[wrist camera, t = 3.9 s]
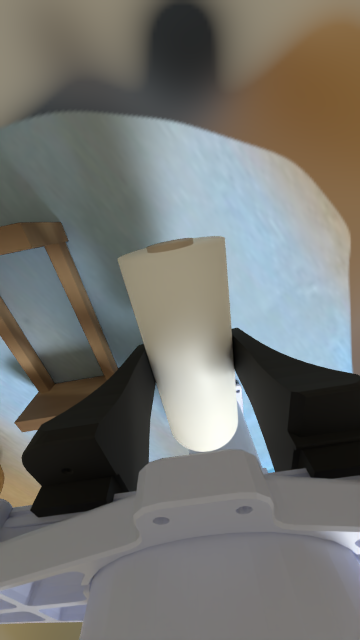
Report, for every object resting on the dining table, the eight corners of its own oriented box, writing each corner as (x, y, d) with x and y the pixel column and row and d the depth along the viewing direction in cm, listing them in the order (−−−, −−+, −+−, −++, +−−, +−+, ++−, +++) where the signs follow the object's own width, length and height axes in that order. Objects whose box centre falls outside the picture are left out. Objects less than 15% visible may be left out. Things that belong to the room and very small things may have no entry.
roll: (206, 382, 18) (253, 420, 14) (158, 416, 16) (198, 472, 12) (182, 234, 12) (249, 228, 8) (103, 254, 10) (144, 259, 6)
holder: (125, 381, 25) (115, 417, 20) (49, 394, 25) (22, 432, 21) (60, 222, 17) (19, 222, 12) (-50, 245, 17) (-129, 254, 13)
